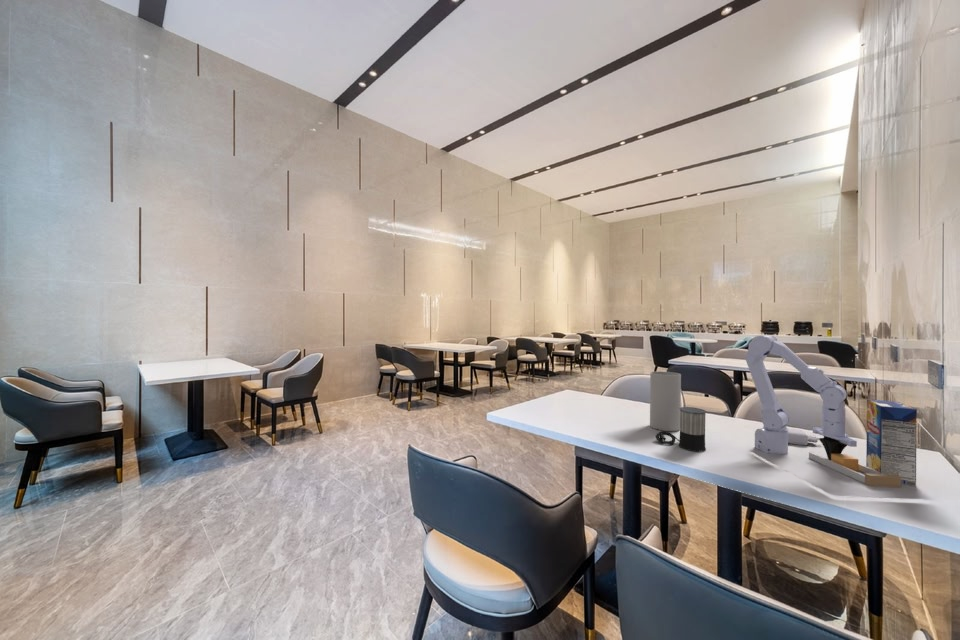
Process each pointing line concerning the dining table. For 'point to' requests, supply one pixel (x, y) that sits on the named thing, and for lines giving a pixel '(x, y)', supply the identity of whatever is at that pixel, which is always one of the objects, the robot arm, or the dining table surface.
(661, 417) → the cylinder vase
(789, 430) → the charger
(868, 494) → the dining table surface
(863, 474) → the track
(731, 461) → the dining table surface
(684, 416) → the milk frother
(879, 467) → the blue food box
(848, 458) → the orange cube
